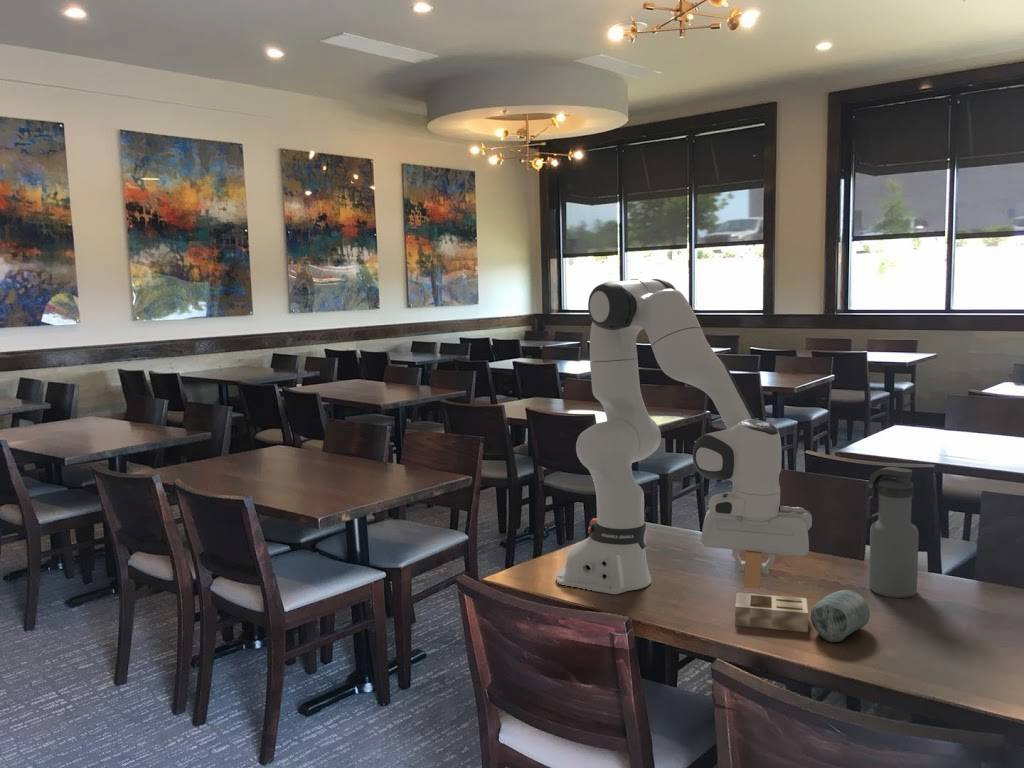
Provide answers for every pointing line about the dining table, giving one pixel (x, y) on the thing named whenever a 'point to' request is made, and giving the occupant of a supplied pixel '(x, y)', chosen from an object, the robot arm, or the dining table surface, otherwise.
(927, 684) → the dining table surface
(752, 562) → the orange rectangular block
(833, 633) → the spool
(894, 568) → the water bottle
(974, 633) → the dining table surface
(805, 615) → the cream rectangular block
